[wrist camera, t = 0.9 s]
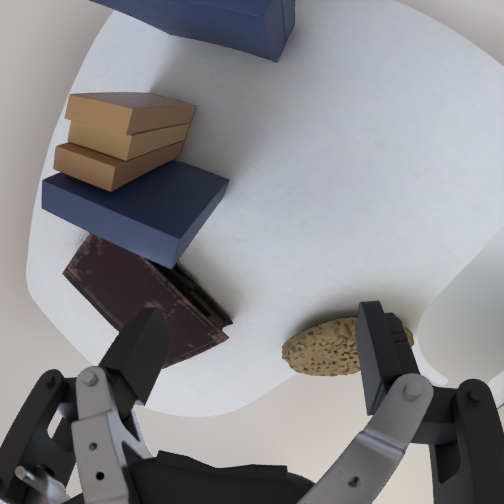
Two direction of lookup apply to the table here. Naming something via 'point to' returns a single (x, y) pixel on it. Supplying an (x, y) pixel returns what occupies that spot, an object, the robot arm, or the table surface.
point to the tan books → (121, 136)
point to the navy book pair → (219, 21)
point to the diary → (147, 295)
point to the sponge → (327, 349)
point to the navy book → (140, 208)
